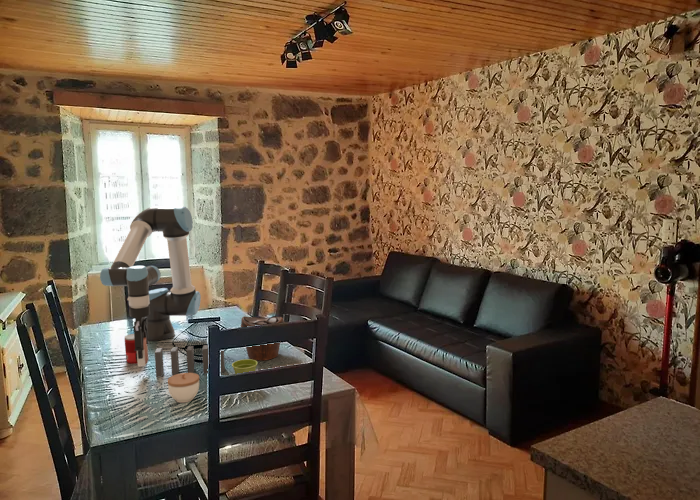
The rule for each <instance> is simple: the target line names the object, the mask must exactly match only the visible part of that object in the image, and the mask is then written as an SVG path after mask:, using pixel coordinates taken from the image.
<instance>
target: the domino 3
mask: <svg viewBox="0 0 700 500" xmlns="http://www.w3.org/2000/svg"><path fill="white" fill-rule="evenodd" d="M179 360H180V359H179V347H178V346H175V347H172V348H171V350H170V361H171V363H170V364H171V376H173V375H176V374H180V373H179V372H180V363H179V362H180V361H179Z"/></svg>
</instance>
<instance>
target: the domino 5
mask: <svg viewBox="0 0 700 500" xmlns="http://www.w3.org/2000/svg"><path fill="white" fill-rule="evenodd" d="M201 352H202V353H201V355H202V356H201V357H202V372H203V374H209V373H208V371H207V369H208V344H206V345H202V349H201Z"/></svg>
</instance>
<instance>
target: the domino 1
mask: <svg viewBox="0 0 700 500" xmlns="http://www.w3.org/2000/svg"><path fill="white" fill-rule="evenodd" d="M143 340H144V350H145V366H146V365H147V364H148V362H149V357H148V358H147V345H148V344H146V338H143Z"/></svg>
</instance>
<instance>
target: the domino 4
mask: <svg viewBox="0 0 700 500" xmlns="http://www.w3.org/2000/svg"><path fill="white" fill-rule="evenodd" d="M194 351H195V350H194V345H189V346H187V348H186V364H187V365H186V366H187V367H186V368H187V373H195V371H196V370H195V353H194Z"/></svg>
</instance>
